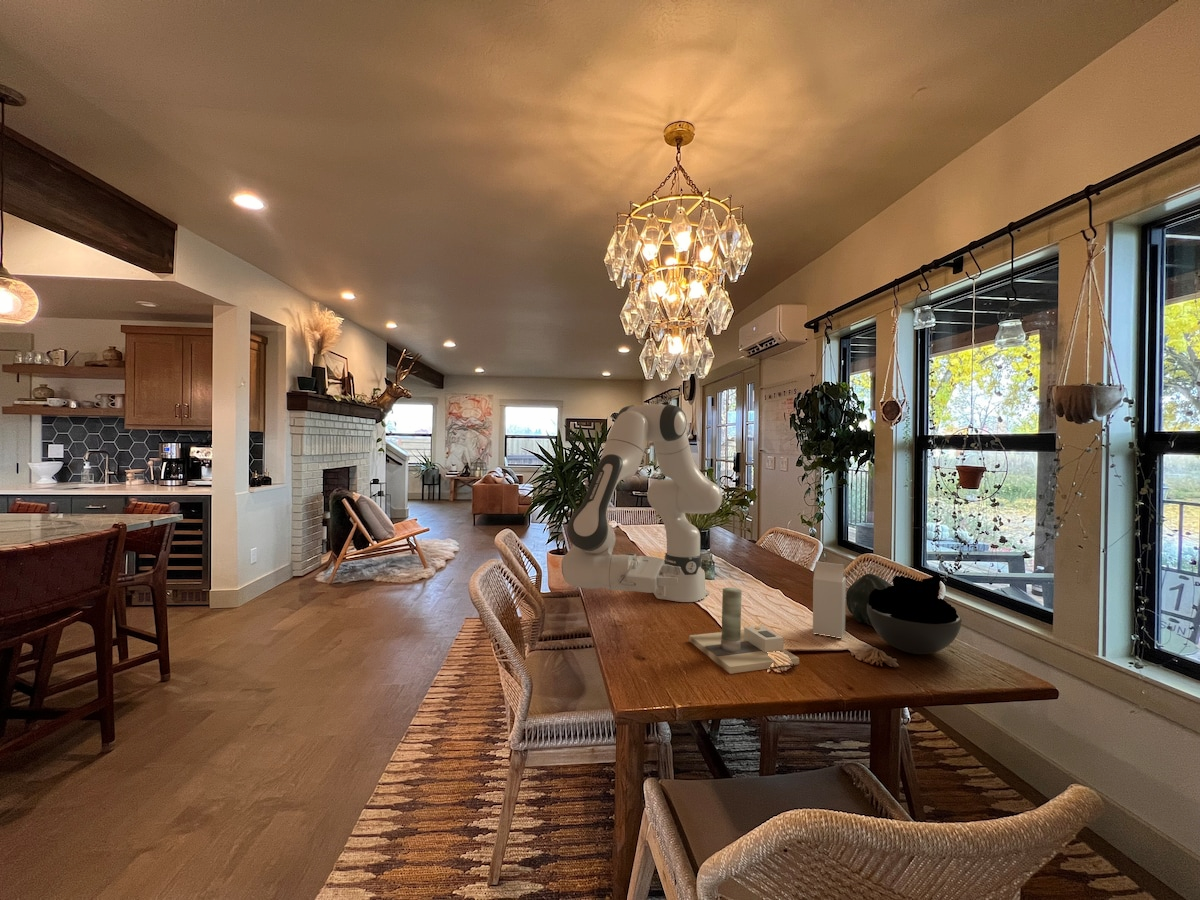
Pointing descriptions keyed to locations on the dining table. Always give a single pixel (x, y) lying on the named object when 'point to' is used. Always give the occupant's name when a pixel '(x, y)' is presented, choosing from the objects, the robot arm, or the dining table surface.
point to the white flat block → (735, 653)
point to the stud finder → (763, 638)
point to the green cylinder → (731, 620)
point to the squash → (863, 595)
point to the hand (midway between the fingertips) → (679, 575)
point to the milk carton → (829, 599)
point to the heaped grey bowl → (913, 615)
